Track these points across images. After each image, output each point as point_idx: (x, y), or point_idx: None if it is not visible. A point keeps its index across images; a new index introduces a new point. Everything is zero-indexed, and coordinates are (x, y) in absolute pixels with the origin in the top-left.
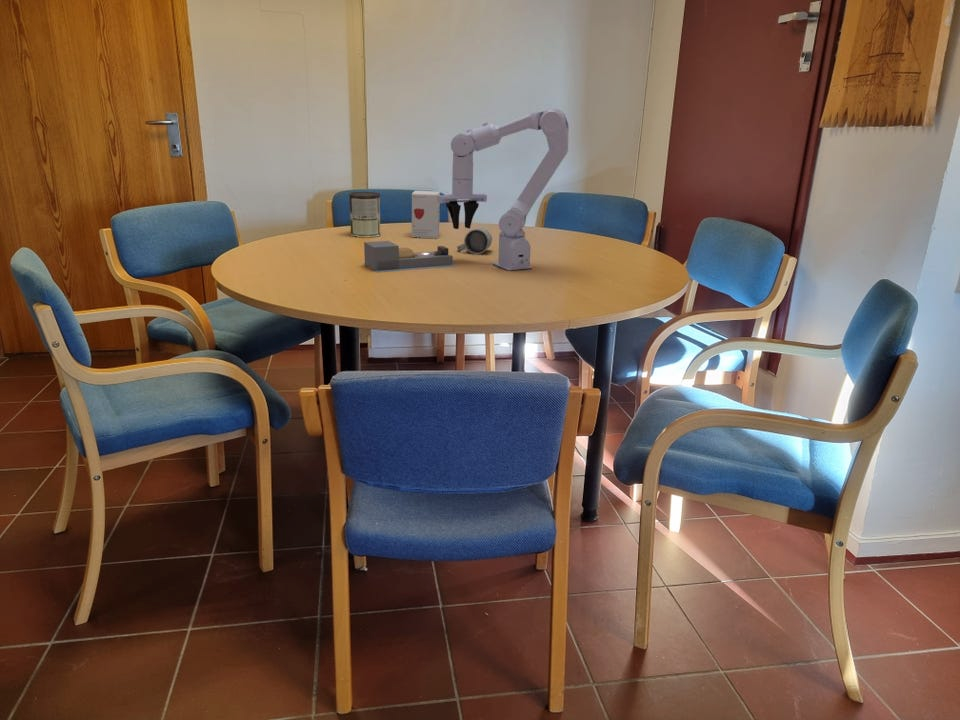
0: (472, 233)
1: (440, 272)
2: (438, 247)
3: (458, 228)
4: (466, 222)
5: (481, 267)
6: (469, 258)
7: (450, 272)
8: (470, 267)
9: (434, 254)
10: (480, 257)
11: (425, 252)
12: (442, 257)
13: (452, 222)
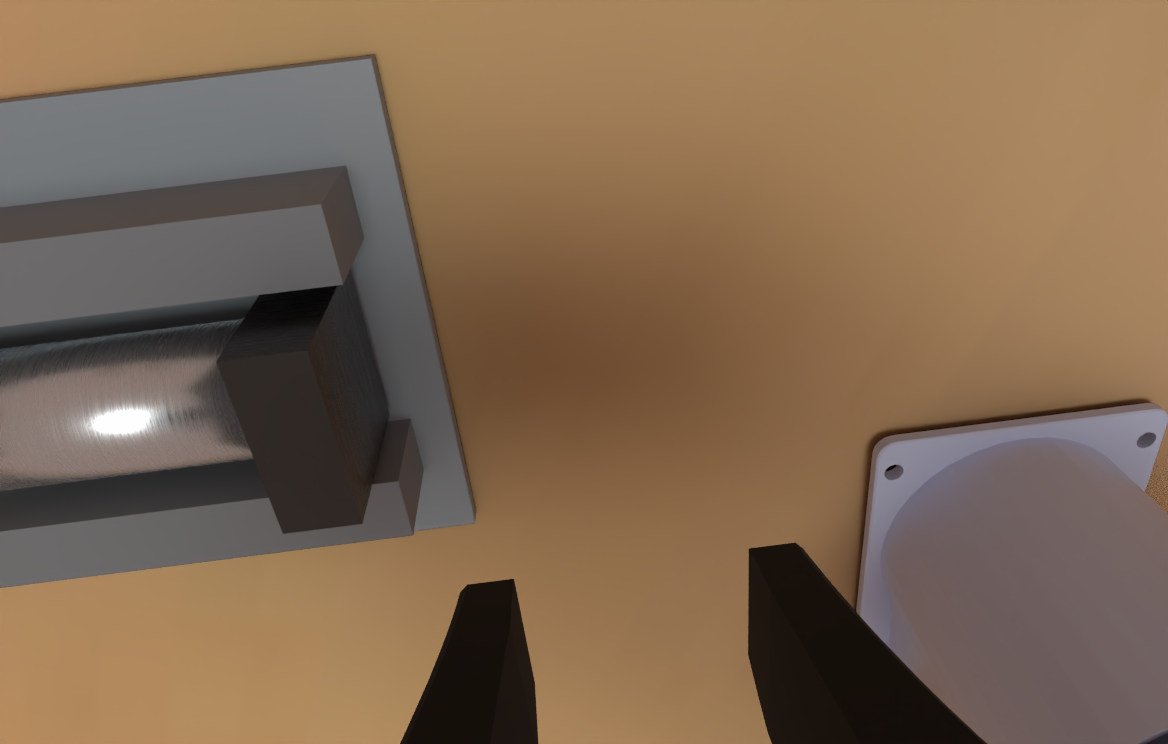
0: None
1: (259, 630)
2: (232, 388)
3: (534, 693)
4: (785, 689)
5: (702, 526)
6: (795, 69)
7: (351, 640)
8: (598, 511)
9: (182, 466)
10: (974, 36)
11: (38, 468)
12: (282, 546)
13: (431, 680)
